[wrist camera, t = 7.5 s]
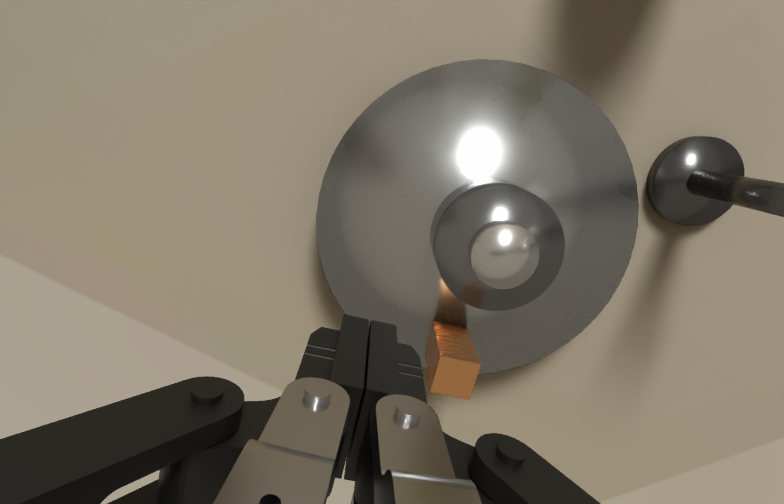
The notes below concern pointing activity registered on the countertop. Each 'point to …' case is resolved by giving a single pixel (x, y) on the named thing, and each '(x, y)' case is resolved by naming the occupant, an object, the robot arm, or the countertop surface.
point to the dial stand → (706, 183)
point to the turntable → (453, 169)
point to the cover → (496, 244)
